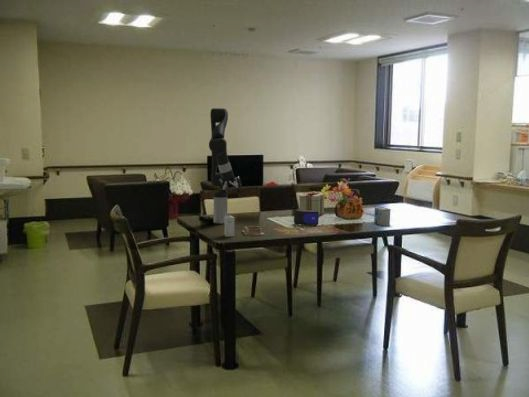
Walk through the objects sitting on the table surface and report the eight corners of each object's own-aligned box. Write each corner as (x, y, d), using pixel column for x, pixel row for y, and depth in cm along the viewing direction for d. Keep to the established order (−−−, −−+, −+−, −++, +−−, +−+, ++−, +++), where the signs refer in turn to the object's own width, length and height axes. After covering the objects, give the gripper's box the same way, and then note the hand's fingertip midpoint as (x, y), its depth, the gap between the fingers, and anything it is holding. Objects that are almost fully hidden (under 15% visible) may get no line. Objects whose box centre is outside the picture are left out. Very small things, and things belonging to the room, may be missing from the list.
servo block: (224, 234, 313) (224, 215, 312) (232, 234, 315) (232, 215, 313) (225, 236, 309) (225, 216, 307) (234, 236, 310) (234, 216, 308)
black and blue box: (293, 224, 350) (293, 210, 348) (294, 223, 354) (294, 209, 353) (317, 225, 347) (318, 211, 346) (318, 224, 352) (318, 210, 350)
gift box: (300, 212, 404) (301, 189, 402) (324, 213, 398) (325, 191, 396) (294, 215, 388) (295, 192, 386) (319, 217, 382) (319, 193, 380)
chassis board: (242, 231, 324) (242, 225, 323) (259, 231, 326) (259, 224, 326) (246, 235, 311) (246, 229, 311) (264, 235, 314) (264, 228, 313)
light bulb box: (373, 222, 363) (374, 206, 362) (382, 222, 365) (383, 206, 363) (381, 225, 353) (381, 209, 351) (390, 224, 354) (390, 208, 353)
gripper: (238, 165, 324) (245, 189, 331) (217, 168, 329) (224, 192, 336) (234, 170, 318) (241, 194, 324) (213, 173, 323) (220, 197, 329)
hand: (233, 193), depth 330 cm, fingers open, 8 cm apart
